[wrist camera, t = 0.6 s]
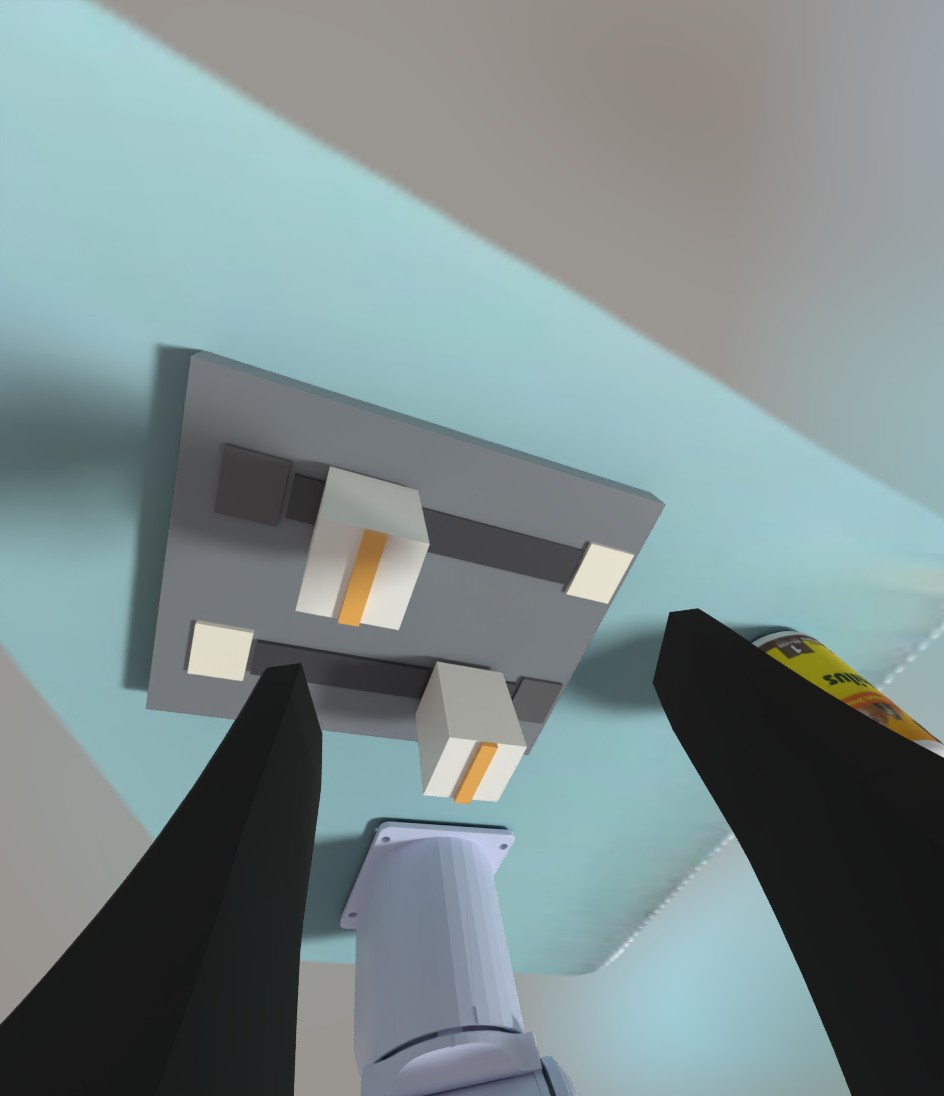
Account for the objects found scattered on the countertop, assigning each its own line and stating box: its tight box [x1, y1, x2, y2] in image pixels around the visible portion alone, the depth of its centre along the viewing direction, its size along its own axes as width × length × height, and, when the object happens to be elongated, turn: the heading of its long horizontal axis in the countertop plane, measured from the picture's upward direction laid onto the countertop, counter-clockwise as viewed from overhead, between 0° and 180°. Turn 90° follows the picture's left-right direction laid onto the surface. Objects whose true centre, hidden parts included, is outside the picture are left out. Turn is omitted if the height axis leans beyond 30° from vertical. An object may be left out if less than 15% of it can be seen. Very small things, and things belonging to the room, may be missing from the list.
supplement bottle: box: [752, 631, 944, 757], centre depth 23 cm, size 6×6×10 cm
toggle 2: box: [415, 662, 527, 804], centre depth 21 cm, size 3×3×4 cm
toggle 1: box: [295, 466, 430, 630], centre depth 16 cm, size 3×3×4 cm
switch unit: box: [146, 350, 666, 755], centre depth 21 cm, size 14×17×1 cm
